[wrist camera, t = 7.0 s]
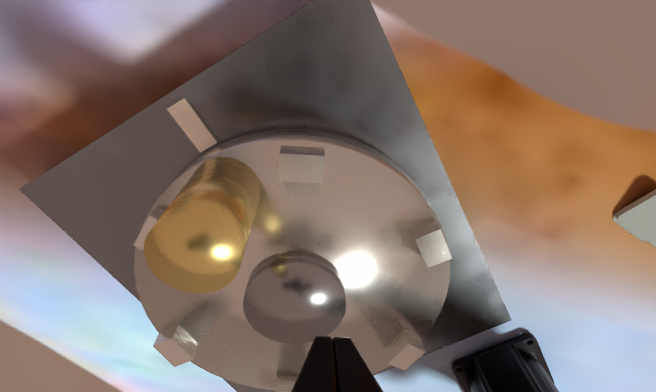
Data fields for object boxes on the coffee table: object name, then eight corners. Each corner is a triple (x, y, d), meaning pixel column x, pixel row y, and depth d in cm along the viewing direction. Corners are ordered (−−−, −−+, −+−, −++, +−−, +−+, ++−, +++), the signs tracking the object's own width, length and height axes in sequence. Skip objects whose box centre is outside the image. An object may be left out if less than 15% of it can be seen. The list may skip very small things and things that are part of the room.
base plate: (497, 298, 25) (513, 322, 23) (268, 393, 29) (265, 420, 27) (352, -23, 16) (357, -29, 14) (45, 173, 20) (16, 190, 18)
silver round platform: (471, 310, 22) (532, 425, 16) (249, 391, 25) (227, 516, 19) (374, 67, 16) (415, 101, 9) (84, 212, 18) (-35, 313, 12)
